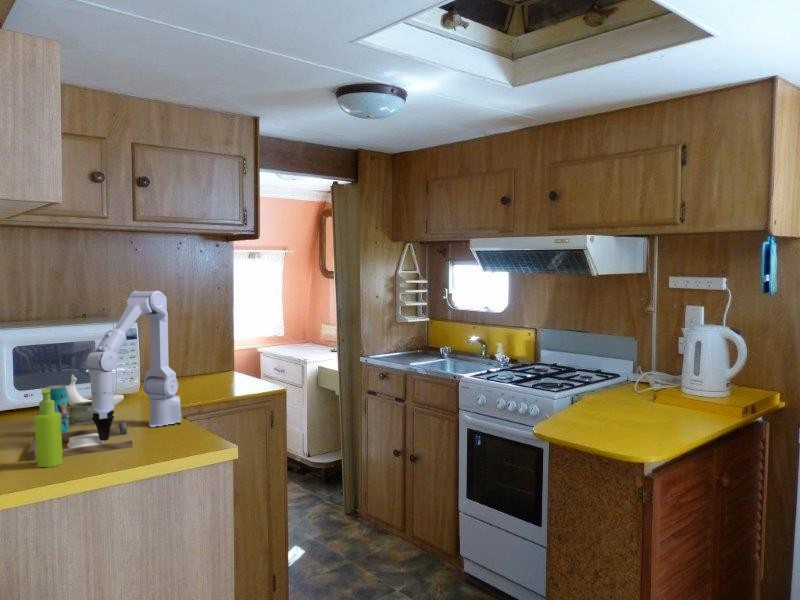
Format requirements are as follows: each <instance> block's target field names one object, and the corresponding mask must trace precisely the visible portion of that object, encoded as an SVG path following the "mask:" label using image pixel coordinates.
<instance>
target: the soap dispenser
mask: <svg viewBox="0 0 800 600" xmlns="http://www.w3.org/2000/svg"><path fill="white" fill-rule="evenodd" d="M50 390H51V388H47V387H45V388H42V389H41V392H40V393H41V395H42V400H41V401H39V403H38V404H39V413H38V414H35V415H34V433H35V434H34V436H35V438H36V457H37V460H36V467H37V468H39V467H49V468H53V467H52V466H54V467H57V466H56V465H58V466H60V465H62V464H63V463H64V460H63V459H64V458H63V457H64V456H63V455H62V449H63V442H62V435H61V414H60V413H59V412H55V404H54V400H52V399H50ZM59 464H60V465H59Z"/></svg>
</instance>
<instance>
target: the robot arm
mask: <svg viewBox="0 0 800 600" xmlns="http://www.w3.org/2000/svg"><path fill="white" fill-rule="evenodd" d="M167 298H168V297H167V296H166V295H165V294H164V293H163V292H162V291H160V290H150V291H148V290H147V291H145V290H144V291H143V290H142V291H140V290H139V291H138V290H134V291H132V293H130V295H129V297H128V299H127V300H126V308H125V309H124V311H123V313H122V315H121V317H120V318H119V320H118V322H117V324H116V326H115V327H114V328H112V329H109V330H108V331H106V332H105V334H104V337H103V338H102V340H101V341H100V343H99V344H98V345H97V347H96V349H95V350H94V351H91V352H90V353H88V354H87V356H86V359H85V361H84V366H85V368H86V369H87V370H88V371H87V372H88V375H89V377H90V395H91V400H92V408H88V411H92V412H95V413H93V416H94V417H92V420H93V421H94V423H93V424H95V427H96V428H97V430H98V434H99V438H100V441H103V442H104V441H109V439H110V436H109V434H110V427H112V423H113V420H114V419H115V415H114V413H115V411H114V410H115V406H114V402H113V395H114V386H113V385H114V384H113V383H114V381H113V369H115V367H116V366H117V364H118V363H117V362H118V359H117V358H118V357H119V356H118V355H119V352H121V351H120V350H121V349H122V348H123V347H124V345H125V344H126V341H127V336H126V334H127V333H128V331H130V329H131V328H132V326H133V325H134V323H136V321H137V320H138V318H139V317H140V316H143V315H144V316H145V317H146V318H147V319H148V320H149V332H150V333H149V335H150V336H149V339H150V345H149V346H150V348H149V349H150V369H148V370H147V371H146V372H145V374H144V376H145V378H144V382H143V385H142V386H143V387H142V388H143V391H144V393H145V394H146V395H147V398H149V399H148V400H149V417H150V420H149V421H148V426H149V427H150V428H156V426H159V427H164V426H163V425H167V426H169V425H168V424H174V423H176V422H181V423H182V412H181V410H182V409H181V398H180V395H176V394H177V392H178V389H179V382H178V379H177V372H176V371H174V370H173V369H172V368H171V367H170V365H169V361H170V359H169V358H170V357H169V315H168V313H169V312H168V309H167V308H168V307H167V306H168V305H167V304H168V303H167V302H168V301H167Z"/></svg>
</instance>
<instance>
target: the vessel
mask: <svg viewBox="0 0 800 600" xmlns="http://www.w3.org/2000/svg"><path fill="white" fill-rule="evenodd" d="M88 408H92V401H89V402H80V403H74V404H71V405H70V404H69V407H68V412H70V415H69V416H68V421H69V423H70V422H72V420H73V422H72V425H74V424H76V425H75V426H81V425H82V426H83V425H89V424H95V423H94V421H93V420H92V417H94V416H93V413H95V412H92V411H88Z"/></svg>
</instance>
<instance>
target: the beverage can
mask: <svg viewBox="0 0 800 600" xmlns="http://www.w3.org/2000/svg"><path fill="white" fill-rule="evenodd" d="M46 388H51V390H50V399H52V400H54V404H55V412H59V413H60V414H61V433H62V432H69V429H70V426H69V425H70V424H69V423H70V422H69V421H68V417H69V411H68V408H69V403H68V400H67V389H66V388H67V386H66V385H64V384H56V385H49V386H47V387H46Z"/></svg>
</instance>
